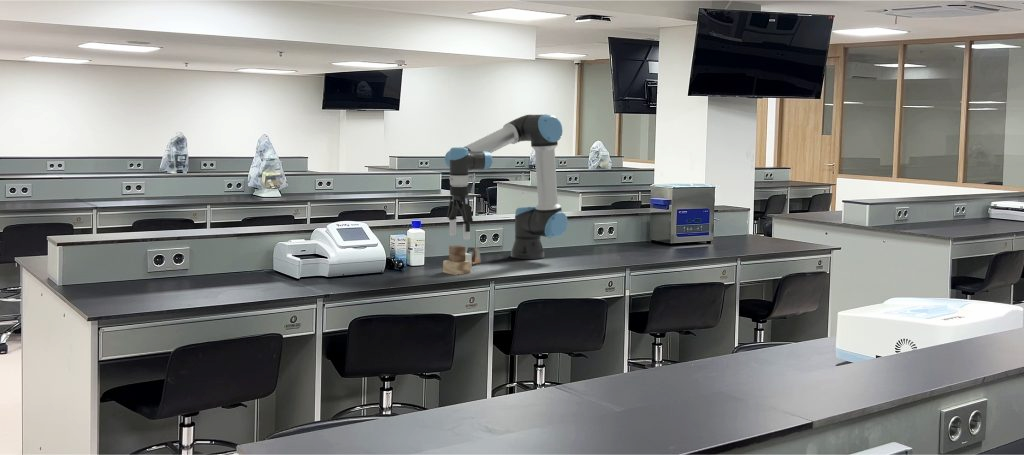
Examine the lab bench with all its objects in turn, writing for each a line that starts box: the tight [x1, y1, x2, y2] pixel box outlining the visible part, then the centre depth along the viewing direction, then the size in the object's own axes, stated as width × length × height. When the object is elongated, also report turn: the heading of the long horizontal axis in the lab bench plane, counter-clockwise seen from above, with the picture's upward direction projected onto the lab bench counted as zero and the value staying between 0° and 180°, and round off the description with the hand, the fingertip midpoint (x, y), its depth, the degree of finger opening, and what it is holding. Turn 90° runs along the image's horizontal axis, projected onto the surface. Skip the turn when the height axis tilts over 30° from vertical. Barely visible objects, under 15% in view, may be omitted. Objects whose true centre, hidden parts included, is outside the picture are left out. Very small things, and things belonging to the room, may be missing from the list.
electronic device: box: [466, 246, 482, 267], centre depth 403 cm, size 4×10×8 cm, turn 161°
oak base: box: [442, 259, 472, 276], centre depth 380 cm, size 8×8×5 cm
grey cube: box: [465, 252, 473, 269], centre depth 393 cm, size 6×6×6 cm
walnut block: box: [448, 244, 466, 262], centre depth 380 cm, size 5×5×6 cm
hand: (459, 237), depth 380 cm, fingers open, 13 cm apart
